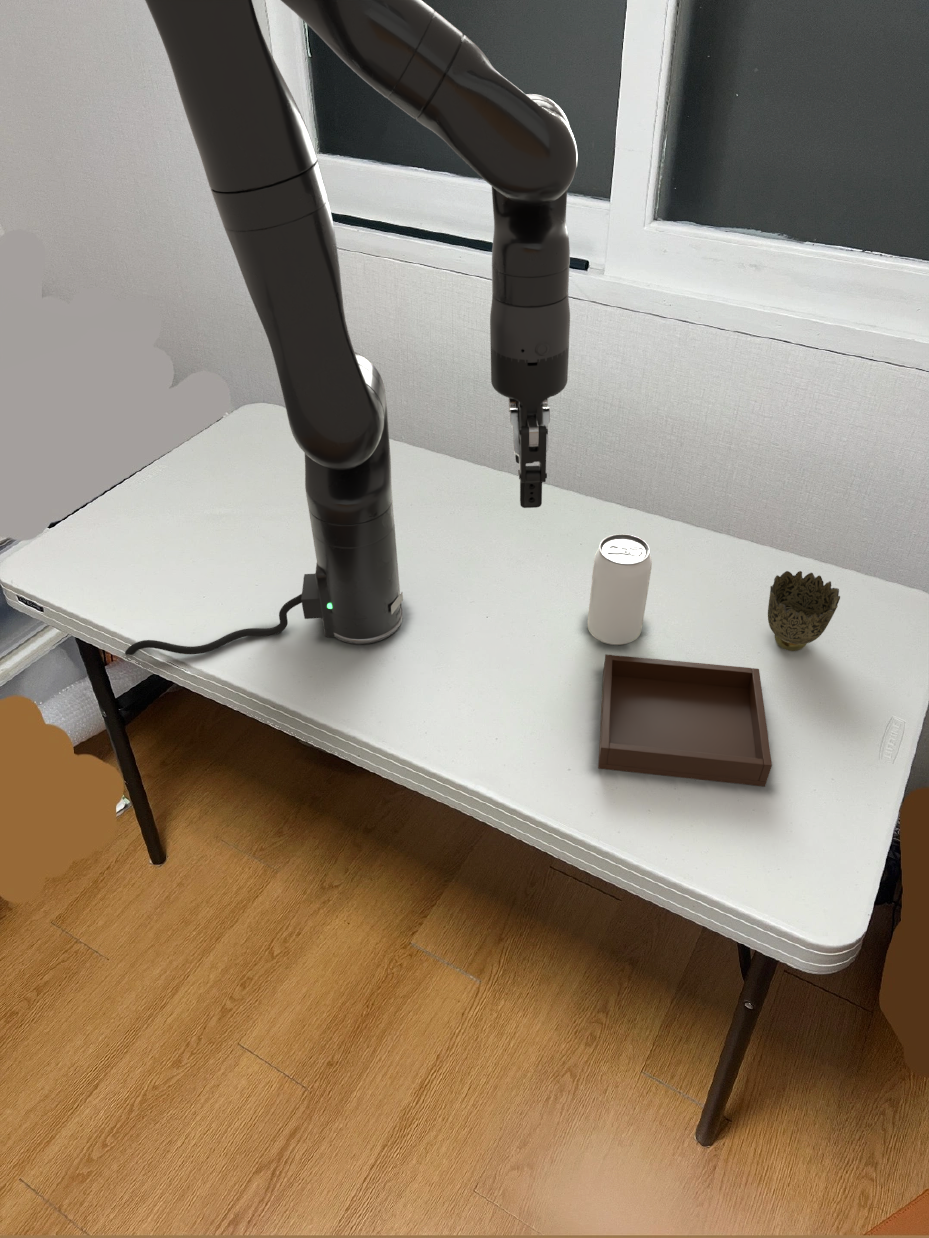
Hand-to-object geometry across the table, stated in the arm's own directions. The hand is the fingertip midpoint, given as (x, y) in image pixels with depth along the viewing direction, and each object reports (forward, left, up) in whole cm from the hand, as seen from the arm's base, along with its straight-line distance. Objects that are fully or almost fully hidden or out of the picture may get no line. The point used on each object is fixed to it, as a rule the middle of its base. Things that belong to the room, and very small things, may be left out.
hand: (528, 483), depth 96 cm
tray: (+15, -19, -19) cm, 31 cm away
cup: (+31, -7, -20) cm, 37 cm away
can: (+11, -3, -20) cm, 22 cm away
